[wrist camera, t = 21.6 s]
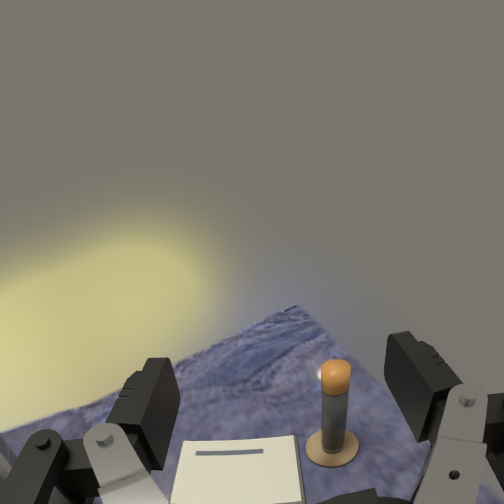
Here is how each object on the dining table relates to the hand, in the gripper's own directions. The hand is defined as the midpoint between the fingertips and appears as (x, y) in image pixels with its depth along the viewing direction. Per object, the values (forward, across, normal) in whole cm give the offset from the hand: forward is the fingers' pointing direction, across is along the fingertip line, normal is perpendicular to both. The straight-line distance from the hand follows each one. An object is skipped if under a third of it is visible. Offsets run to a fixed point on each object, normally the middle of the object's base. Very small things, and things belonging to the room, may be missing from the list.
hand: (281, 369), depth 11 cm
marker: (+18, -7, +28) cm, 34 cm away
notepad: (+15, +6, +29) cm, 33 cm away
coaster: (+18, -6, +28) cm, 34 cm away
